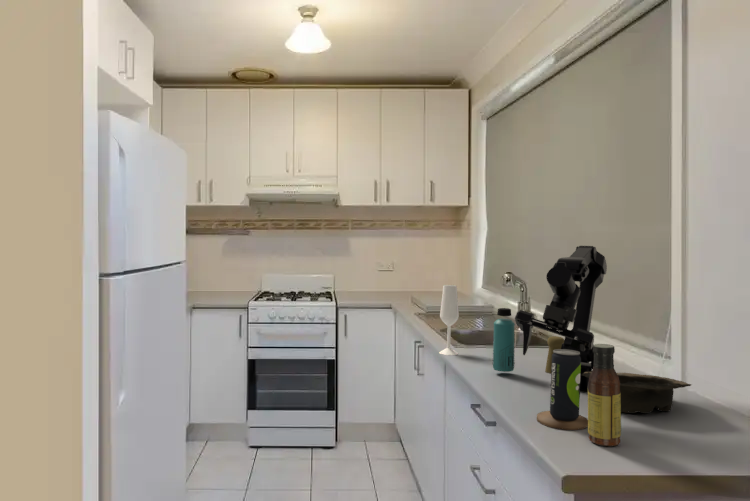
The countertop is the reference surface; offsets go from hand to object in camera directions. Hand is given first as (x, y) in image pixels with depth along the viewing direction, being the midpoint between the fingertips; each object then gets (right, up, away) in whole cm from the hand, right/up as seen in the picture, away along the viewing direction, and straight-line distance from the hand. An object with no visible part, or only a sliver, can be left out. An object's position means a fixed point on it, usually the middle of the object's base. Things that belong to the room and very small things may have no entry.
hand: (542, 361), depth 138 cm
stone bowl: (+24, -12, +5) cm, 28 cm away
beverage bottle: (-2, -11, +35) cm, 36 cm away
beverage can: (+2, -11, -9) cm, 15 cm away
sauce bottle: (+6, -12, -22) cm, 26 cm away
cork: (+15, -11, +39) cm, 43 cm away
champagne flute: (-14, -10, +65) cm, 67 cm away
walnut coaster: (+2, -12, -9) cm, 15 cm away
